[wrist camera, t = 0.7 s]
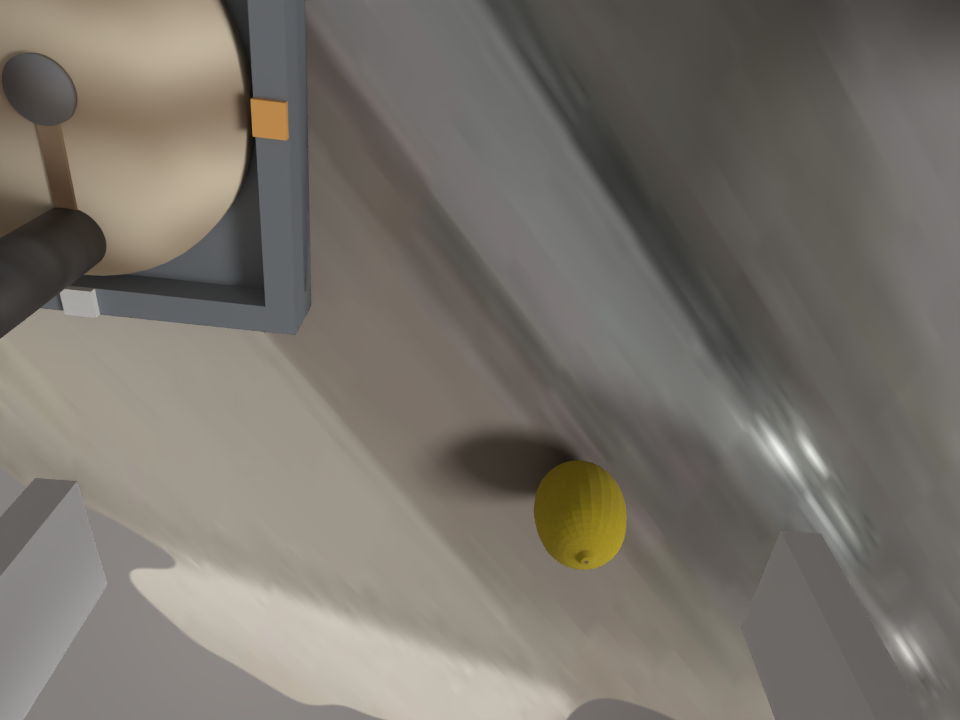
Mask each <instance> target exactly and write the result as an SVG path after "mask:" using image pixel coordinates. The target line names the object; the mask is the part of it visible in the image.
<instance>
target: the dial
mask: <svg viewBox="0 0 960 720" xmlns="http://www.w3.org/2000/svg"><path fill="white" fill-rule="evenodd" d="M251 98H253V85H252V74H251V70H250V66H249V62H248V58H247V53H246V50H245V48H244V45H243V42H242V39H241V37H240V34H239V31H238V28H237V25H236V23H235V21H234V19H233V17H232V15H231V13H230V11H229V9H228V7H227V5H226V3H225V1H224V0H0V338H2V337H3V336H4V335H6V334H7V333H8V332H9V331H11V330H12V329H13V328H15V327H16V326H17V325H19V324H20V323H21V322H22V321H24V320H25V319H26V318H28V317H29V316H30V315H32V314H33V313H34V312H35V311H37V310H38V309H39V308H41V307H42V306H43V305H45V304H46V303H47V302H49V301H50V300H51V299H52V298H54V297H55V296H56V295H58V294H59V293H60V292H62V291H63V290H64V289H65V288H67V287H68V286H69V285H71V284H72V283H73V282H75V281H76V280H77V279H78V278H80V277H81V276H82V275H99V276H108V275H121V274H129V273H134V272H139V271H143V270H148V269H150V268H153V267H156V266H159V265H161V264H164V263H167V262H169V261H170V260H172V259H174V258H176V257H178V256H180V255H181V254H183V253H185V252H186V251H188V250H189V249H190V248H191V247H193V246H194V245H195V244H197V243H198V242H199V241H200V240H202V239H203V238H204V237H205V236H206V235H207V234H208V233H209V232H210V231H211V230H212V229H213V228H214V227H215V226H216V225H217V224H218V223H219V221H220V220H221V219H222V218H223V217H224V216H225V215H226V214H227V212H228V211H229V209H230V208H231V206H232V205H233V203H234V202H235V200H236V199H237V197H238V195H239V193H240V190H241V188H242V186H243V184H244V182H245V180H246V177H247V174H248V170H249V167H250V163H251V160H252V156H253V150H254V142H255V137H253V134H252V117H251V101H250V99H251Z"/></svg>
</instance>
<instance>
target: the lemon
mask: <svg viewBox="0 0 960 720" xmlns="http://www.w3.org/2000/svg"><path fill="white" fill-rule="evenodd" d="M534 518H535V523H536V527H537V531H538V534H539V537H540V539H541V541H542V543H543V545H544V547H545V548H546V550H547V551H548V553H549V554H550V555H551V556H552V557H553V558H554V559H556V560H557V561H558V562H560V563H561V564H563V565H565V566H567V567H570V568H573V569H581V570H587V569H593V568H597V567H600V566H602V565H604V564H606V563H607V562H608V561H610V560H611V559H612V558H613V557H614V556H615V555H616V554H617V552H618V551H619V549H620V548H621V545H622V543H623V540H624V538H625V533H626V521H627V512H626V506H625V502H624V498H623V495H622V492H621V490H620V488H619V486H618V485H617V483H616V482H615V480H614V479H613V477H612V476H611V475H610V474H609V473H608V472H607V471H605V470H604V469H603V468H601V467H600V466H598V465H596V464H594V463H591V462H587V461H582V460H573V461H568V462H564V463H562V464H559V465H557V466H556V467H554V468H553V469H552V470H550V471H549V472H548V473H547V474H546V476H545V477H544V478H543V479H542V481H541V483H540V485H539V487H538V489H537V492H536V496H535V503H534Z"/></svg>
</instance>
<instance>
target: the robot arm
mask: <svg viewBox="0 0 960 720" xmlns="http://www.w3.org/2000/svg"><path fill="white" fill-rule="evenodd" d="M106 586H107V582H106V578H105V575H104V571H103V568H102V564H101V561H100V558H99V554H98V551H97V547H96V544H95V540H94V537H93V534H92V530H91V527H90V523H89V520H88V516H87V513H86V509H85V506H84V502H83V499H82V495H81V492H80V489H79V485H78V482H77V481H69V480H55V479H40V478H35V479H34V480H33V481H32V482H31V484H30V485H29V486H28V487H27V488H26V489H25V490H24V491H23V493H22V494H21V495H20V496H19V497H18V498H17V499H16V501H15V502H14V503H13V504H12V505H11V506H10V507H9V508H8V510H6V512H5V513H4V514H3V515H2V516H1V517H0V720H23V719H24V718H25V716H26V714H27V713H28V711H29V710H30V708H31V706H32V705H33V703H34V702H35V700H36V698H37V697H38V695H39V694H40V692H41V690H42V689H43V687H44V686H45V684H46V682H47V681H48V679H49V678H50V676H51V674H52V672H53V671H54V670H55V668H56V666H57V665H58V663H59V662H60V660H61V658H62V657H63V655H64V654H65V652H66V650H67V649H68V647H69V646H70V644H71V642H72V641H73V639H74V638H75V636H76V634H77V633H78V631H79V629H80V628H81V626H82V624H83V623H84V621H85V620H86V618H87V617H88V615H89V614H90V612H91V610H92V609H93V607H94V605H95V604H96V602H97V601H98V599H99V597H100V596H101V594H102V593H103V591H104V589H105V588H106ZM741 628H742V631H743V633H744V636H745V639H746V642H747V644H748V647H749V650H750V652H751V655H752V658H753V660H754V663H755V666H756V669H757V671H758V674H759V677H760V679H761V682H762V685H763V688H764V690H765V693H766V696H767V698H768V701H769V704H770V706H771V709H772V712H773V715H774V717H775V720H927V719H926V717H925V715H924V714H923V712H922V710H921V708H920V707H919V705H918V703H917V701H916V700H915V698H914V696H913V694H912V693H911V691H910V689H909V687H908V686H907V684H906V682H905V680H904V679H903V677H902V675H901V673H900V672H899V670H898V668H897V666H896V665H895V663H894V661H893V659H892V657H891V656H890V654H889V652H888V650H887V649H886V647H885V645H884V643H883V642H882V640H881V638H880V636H879V635H878V633H877V631H876V629H875V628H874V626H873V624H872V622H871V621H870V619H869V617H868V615H867V614H866V612H865V610H864V608H863V607H862V605H861V603H860V601H859V600H858V598H857V596H856V594H855V593H854V591H853V589H852V587H851V586H850V584H849V582H848V580H847V579H846V577H845V575H844V573H843V572H842V570H841V568H840V566H839V565H838V563H837V561H836V559H835V557H834V556H833V554H832V552H831V550H830V549H829V547H828V545H827V543H826V542H825V540H824V538H823V536H822V535H821V534H818V533H804V532H790V531H781V532H780V534H779V537H778V539H777V541H776V544H775V546H774V549H773V551H772V554H771V556H770V559H769V561H768V564H767V566H766V568H765V571H764V573H763V576H762V578H761V581H760V583H759V586H758V588H757V591H756V593H755V595H754V598H753V600H752V603H751V605H750V608H749V610H748V613H747V615H746V618H745V620H744V622H743V625H742V627H741Z"/></svg>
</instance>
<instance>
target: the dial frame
mask: <svg viewBox="0 0 960 720" xmlns="http://www.w3.org/2000/svg"><path fill="white" fill-rule="evenodd" d="M224 1H225V3H226V5H227V7H228V9H229V11H230V13H231V15H232V17H233V19H234V21H235V23H236V25H237V28H238V31H239V34H240V37H241V39H242V42H243V45H244V48H245V50H246V53H247V58H248V62H249V66H250V70H251V74H252V85H253V98H251V99H250V101H251V117H252V134H253V137H255V142H254V150H253V156H252V160H251V163H250V167H249V170H248V174H247V177H246V180H245V182H244V184H243V186H242V188H241V190H240V193H239V195H238V197H237V199H236V200H235V202H234V203H233V205H232V206H231V208H230V209H229V211H228V212H227V214H226V215H225V216H224V217H223V218H222V219H221V220H220V221H219V223H218V224H217V225H216V226H215V227H214V228H213V229H212V230H211V231H210V232H209V233H208V234H207V235H206V236H205V237H204V238H203V239H202V240H200V241H199V242H198V243H197V244H195V245H194V246H193V247H191V248H190V249H189V250H188V251H186V252H185V253H183V254H181V255H180V256H178V257H176V258H174V259H172V260H170V261H169V262H167V263H164V264H161V265H159V266H156V267H153V268H150V269H148V270H143V271H139V272H134V273H129V274H121V275H108V276H99V275H82V276H81V277H80V278H78V279H77V280H76V281H75V282H73V283H72V284H71V285H69V286H68V287H67V288H65V289H64V290H63V291H62V292H60V293H59V294H58V295H56V296H55V297H54V298H52V299H51V300H50V301H49V302H47V303H46V304H45V305H43V306H42V307H41V308H44V309H53V310H63V311H64V314H65V315H73V316H82V317H92V318H97V317H98V316H99V315H100V314H101V315H110V316H119V317H129V318H138V319H148V320H157V321H167V322H176V323H186V324H195V325H205V326H214V327H224V328H233V329H242V330H252V331H261V332H271V333H280V334H290V335H296V333H297V331H298V330H299V328H300V326H301V324H302V322H303V320H304V318H305V316H306V315H307V313H308V311H309V309H310V307H311V274H310V225H309V176H308V127H307V78H306V29H305V0H224Z"/></svg>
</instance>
